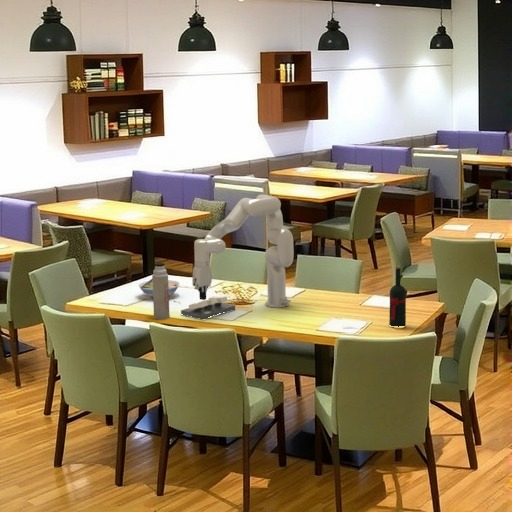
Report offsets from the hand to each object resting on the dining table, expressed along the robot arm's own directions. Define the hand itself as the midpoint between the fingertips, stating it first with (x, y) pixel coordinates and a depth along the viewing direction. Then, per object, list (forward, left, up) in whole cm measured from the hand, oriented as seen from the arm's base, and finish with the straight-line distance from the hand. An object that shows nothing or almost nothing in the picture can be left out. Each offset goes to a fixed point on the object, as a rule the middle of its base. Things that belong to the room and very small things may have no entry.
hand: (202, 299), depth 484 cm
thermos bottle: (+17, +13, -9) cm, 23 cm away
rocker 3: (+4, -15, -5) cm, 16 cm away
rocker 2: (+3, -8, -5) cm, 10 cm away
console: (+4, -8, -9) cm, 13 cm away
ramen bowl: (+49, -17, -10) cm, 52 cm away
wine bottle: (-89, -41, -10) cm, 99 cm away
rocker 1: (+3, 0, -5) cm, 6 cm away
